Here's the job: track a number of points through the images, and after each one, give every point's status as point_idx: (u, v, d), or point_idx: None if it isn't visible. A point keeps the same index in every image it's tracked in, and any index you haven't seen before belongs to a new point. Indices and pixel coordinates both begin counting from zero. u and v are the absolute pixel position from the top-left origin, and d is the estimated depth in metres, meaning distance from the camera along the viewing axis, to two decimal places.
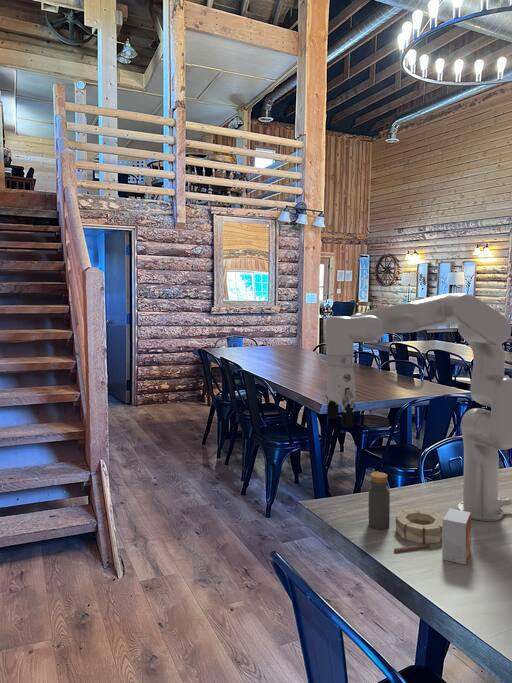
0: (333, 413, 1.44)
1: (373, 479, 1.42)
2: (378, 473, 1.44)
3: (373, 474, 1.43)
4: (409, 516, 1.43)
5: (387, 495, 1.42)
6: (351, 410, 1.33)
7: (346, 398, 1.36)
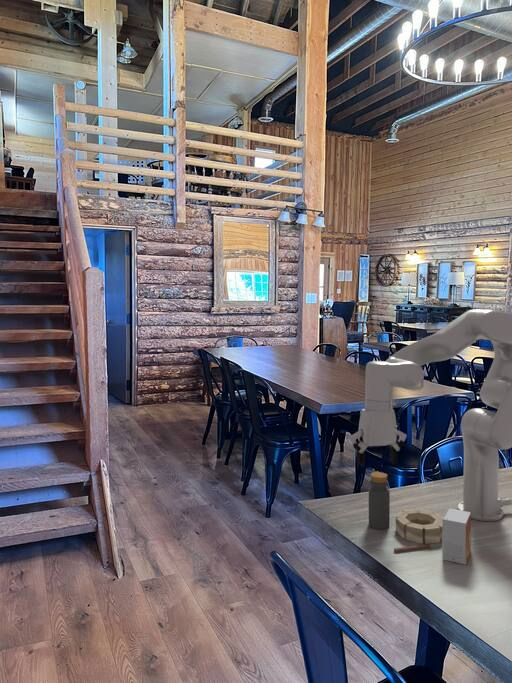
0: None
1: (373, 479, 1.42)
2: (378, 473, 1.44)
3: (373, 474, 1.43)
4: (409, 516, 1.43)
5: (387, 495, 1.42)
6: None
7: None
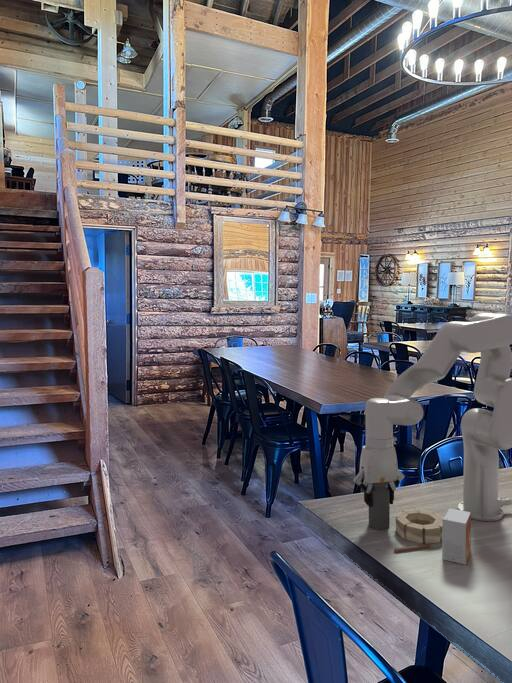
0: None
1: None
2: None
3: None
4: (409, 516, 1.43)
5: (387, 495, 1.42)
6: None
7: None
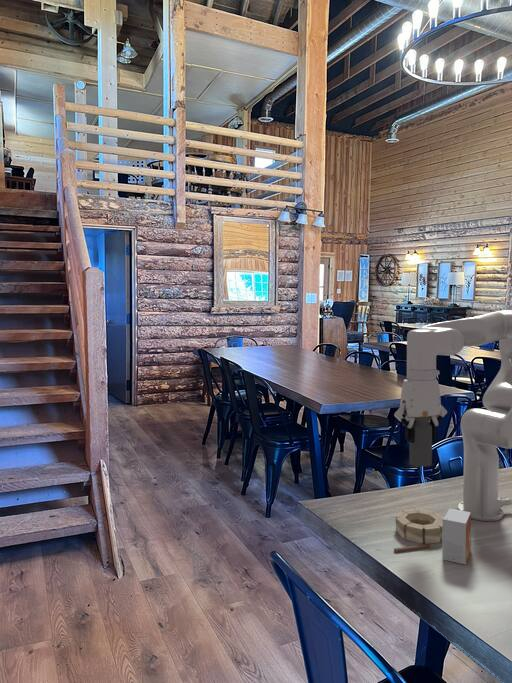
0: None
1: None
2: None
3: None
4: (409, 516, 1.43)
5: (430, 430, 1.35)
6: None
7: None
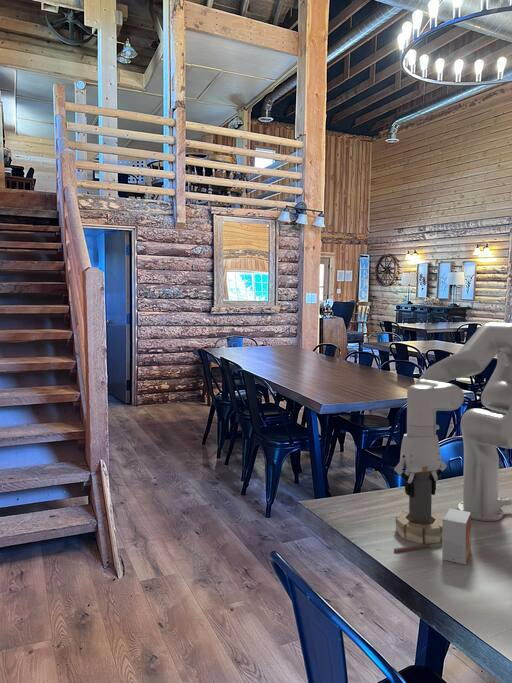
0: None
1: None
2: None
3: None
4: (409, 516, 1.43)
5: (429, 485, 1.36)
6: None
7: None
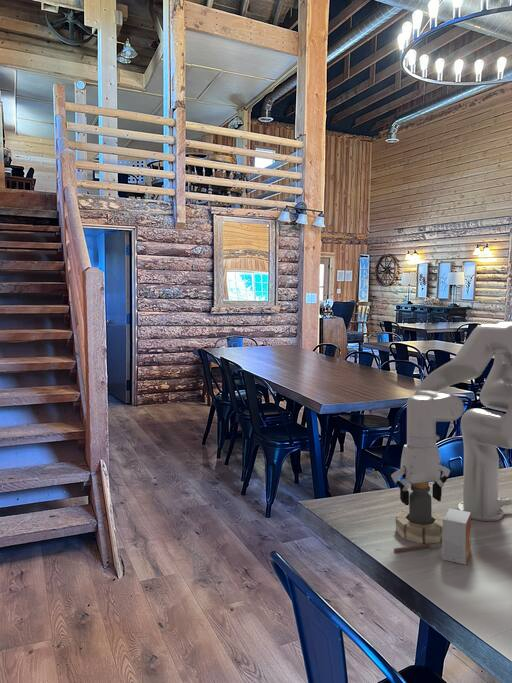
0: None
1: (414, 484, 1.38)
2: None
3: None
4: None
5: (429, 501, 1.37)
6: None
7: None
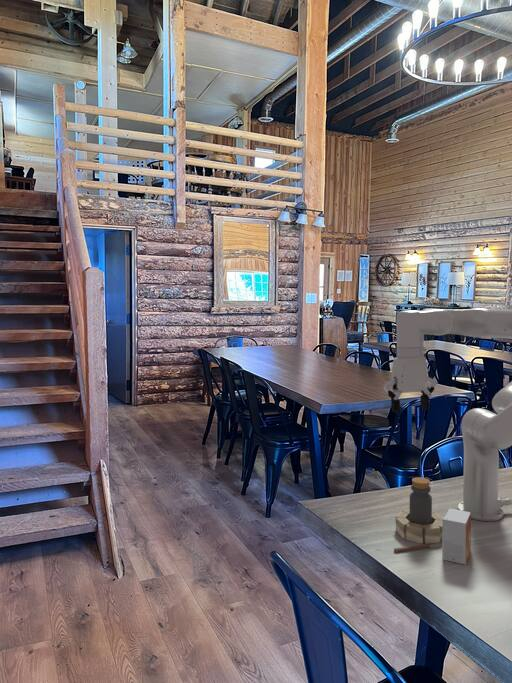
0: None
1: (415, 485, 1.37)
2: (419, 478, 1.39)
3: (415, 480, 1.38)
4: (409, 516, 1.43)
5: (430, 501, 1.37)
6: None
7: None
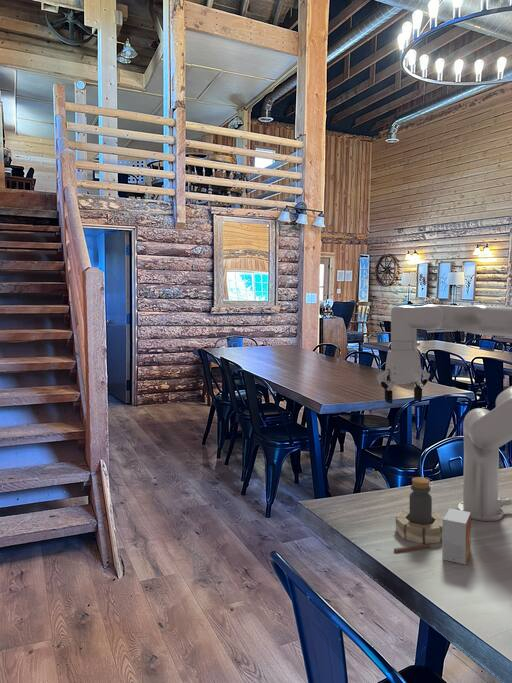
0: None
1: (415, 484, 1.38)
2: (419, 478, 1.40)
3: (415, 479, 1.39)
4: None
5: (429, 501, 1.37)
6: None
7: None
